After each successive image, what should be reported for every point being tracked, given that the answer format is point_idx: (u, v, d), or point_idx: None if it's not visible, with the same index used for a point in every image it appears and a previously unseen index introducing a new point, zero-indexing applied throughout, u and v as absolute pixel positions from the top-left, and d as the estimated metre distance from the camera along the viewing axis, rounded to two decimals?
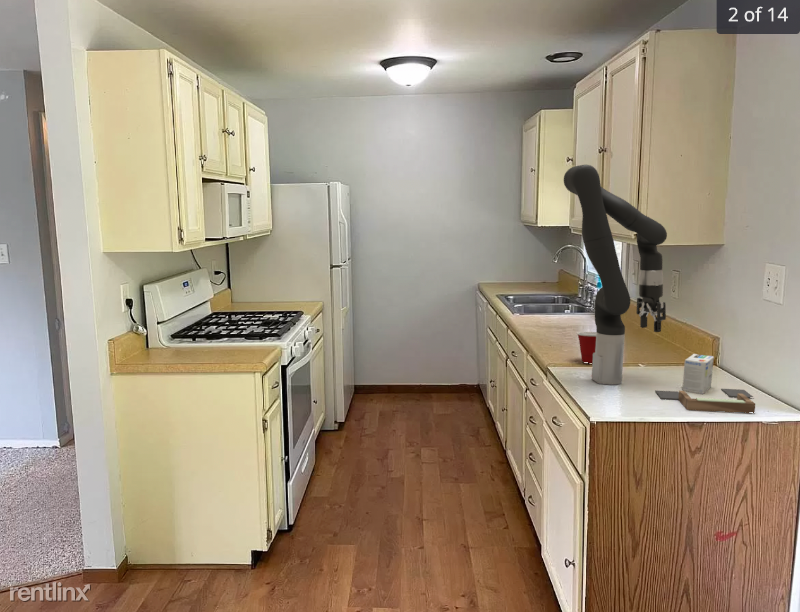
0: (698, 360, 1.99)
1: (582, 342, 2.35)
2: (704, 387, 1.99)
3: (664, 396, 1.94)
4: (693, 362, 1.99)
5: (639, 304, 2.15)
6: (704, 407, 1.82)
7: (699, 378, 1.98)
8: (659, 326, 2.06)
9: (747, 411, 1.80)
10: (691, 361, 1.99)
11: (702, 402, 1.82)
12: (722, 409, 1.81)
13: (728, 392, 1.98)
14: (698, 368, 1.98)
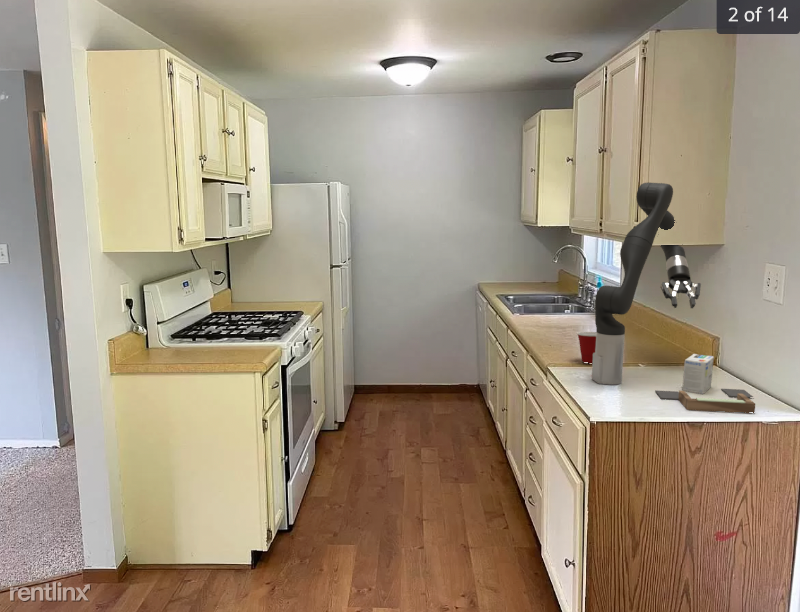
0: (698, 360, 1.99)
1: (582, 342, 2.35)
2: (704, 387, 1.99)
3: (664, 396, 1.94)
4: (693, 362, 1.99)
5: None
6: (704, 407, 1.82)
7: (699, 378, 1.98)
8: None
9: (747, 411, 1.80)
10: (691, 361, 1.99)
11: (702, 402, 1.82)
12: (722, 409, 1.81)
13: (728, 392, 1.98)
14: (698, 368, 1.98)
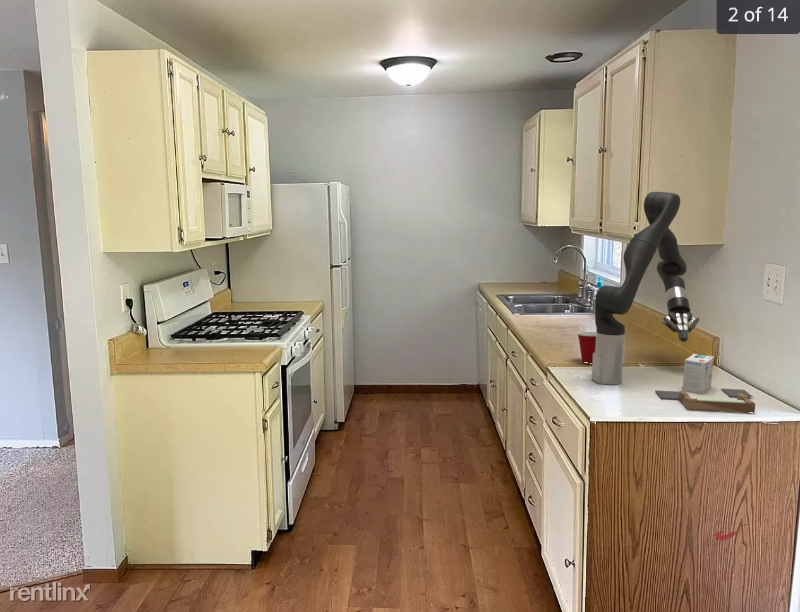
0: (698, 360, 1.99)
1: (582, 342, 2.35)
2: (704, 387, 1.99)
3: (664, 396, 1.94)
4: (693, 362, 1.99)
5: None
6: (704, 407, 1.82)
7: (699, 378, 1.98)
8: None
9: (747, 411, 1.80)
10: (691, 361, 1.99)
11: (702, 402, 1.82)
12: (722, 409, 1.81)
13: (728, 392, 1.98)
14: (698, 368, 1.98)
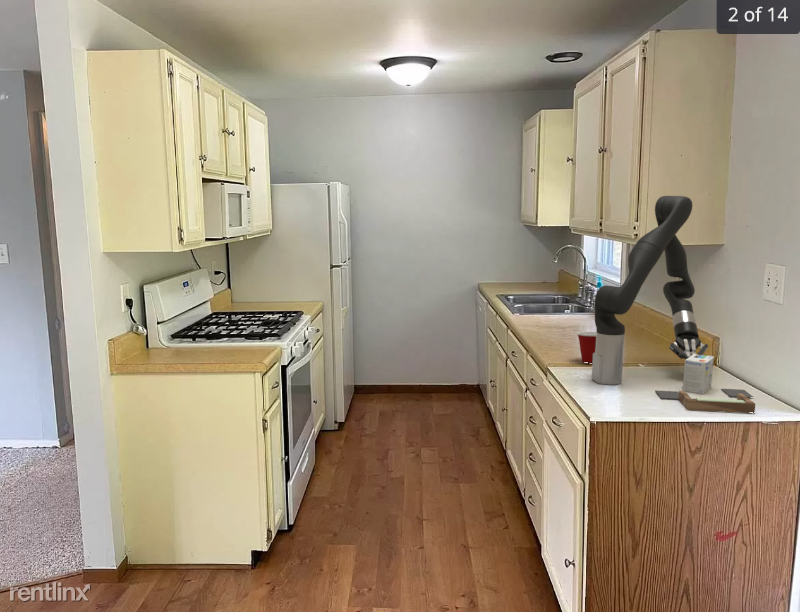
0: (698, 360, 1.99)
1: (582, 342, 2.35)
2: (704, 387, 1.99)
3: (664, 396, 1.94)
4: (693, 362, 1.99)
5: None
6: (704, 407, 1.82)
7: (699, 378, 1.98)
8: None
9: (747, 411, 1.80)
10: (691, 361, 1.99)
11: (702, 402, 1.82)
12: (722, 409, 1.81)
13: (728, 392, 1.98)
14: (698, 368, 1.98)
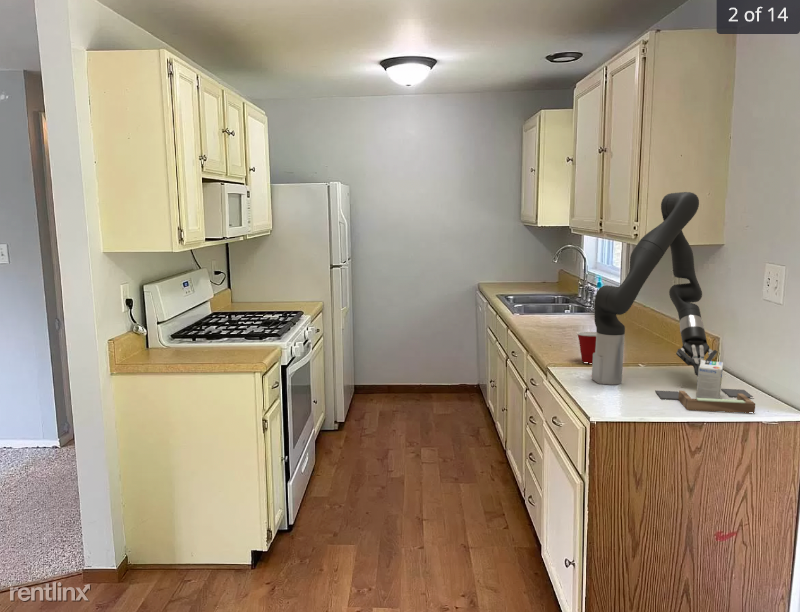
0: (712, 367, 1.90)
1: (582, 342, 2.35)
2: (719, 395, 1.90)
3: (664, 396, 1.94)
4: (708, 370, 1.89)
5: None
6: (704, 407, 1.82)
7: (714, 386, 1.89)
8: None
9: (747, 411, 1.80)
10: (706, 369, 1.90)
11: (702, 402, 1.82)
12: (722, 409, 1.81)
13: (728, 392, 1.98)
14: (713, 376, 1.89)
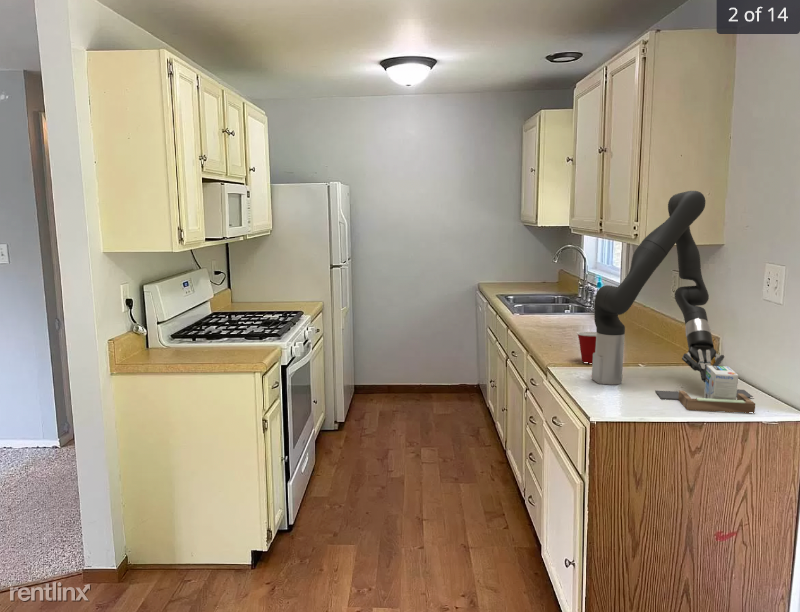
0: (728, 373, 1.83)
1: (582, 342, 2.35)
2: None
3: (664, 396, 1.94)
4: (725, 376, 1.82)
5: None
6: (704, 407, 1.82)
7: (731, 393, 1.82)
8: None
9: (747, 411, 1.80)
10: (722, 375, 1.82)
11: (702, 402, 1.82)
12: (722, 409, 1.81)
13: None
14: (730, 382, 1.82)
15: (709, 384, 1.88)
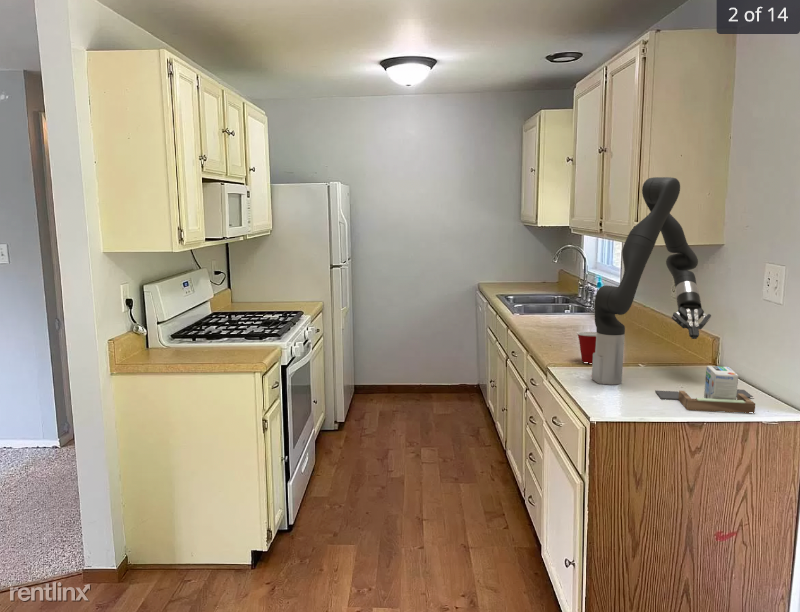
0: (728, 373, 1.83)
1: (582, 342, 2.35)
2: None
3: (664, 396, 1.94)
4: (725, 376, 1.82)
5: None
6: (704, 407, 1.82)
7: (731, 393, 1.82)
8: None
9: (747, 411, 1.80)
10: (722, 376, 1.82)
11: (702, 402, 1.82)
12: (722, 409, 1.81)
13: None
14: (730, 382, 1.82)
15: (709, 384, 1.88)
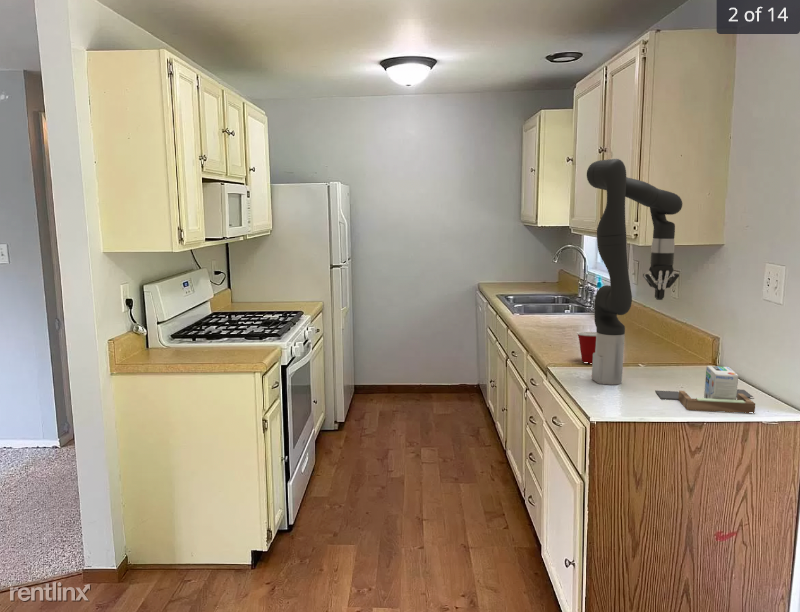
0: (728, 373, 1.83)
1: (582, 342, 2.35)
2: None
3: (664, 396, 1.94)
4: (725, 376, 1.82)
5: None
6: (704, 407, 1.82)
7: (731, 393, 1.82)
8: None
9: (747, 411, 1.80)
10: (722, 375, 1.82)
11: (702, 402, 1.82)
12: (722, 409, 1.81)
13: None
14: (730, 382, 1.82)
15: (709, 384, 1.88)
